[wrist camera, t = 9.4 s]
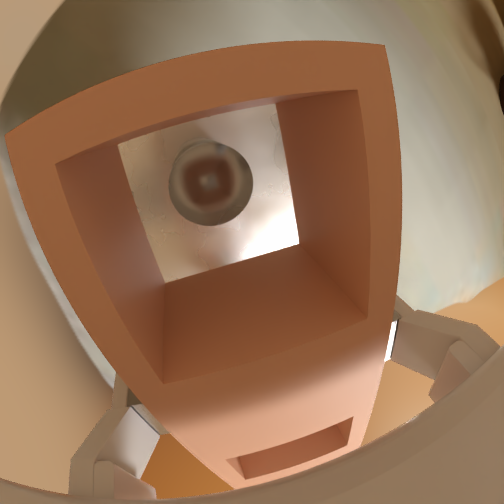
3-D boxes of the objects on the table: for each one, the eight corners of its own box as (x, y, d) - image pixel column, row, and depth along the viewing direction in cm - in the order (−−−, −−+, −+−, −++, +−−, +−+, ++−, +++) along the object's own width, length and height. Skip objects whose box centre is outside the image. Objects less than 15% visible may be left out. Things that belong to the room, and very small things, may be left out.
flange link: (86, 127, 6) (4, 134, 2) (294, 74, 7) (384, 44, 3) (224, 430, 13) (240, 492, 9) (327, 397, 14) (357, 453, 10)
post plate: (99, 128, 13) (35, 135, 6) (271, 83, 14) (338, 57, 7) (182, 344, 20) (190, 428, 14) (307, 306, 21) (353, 376, 15)
